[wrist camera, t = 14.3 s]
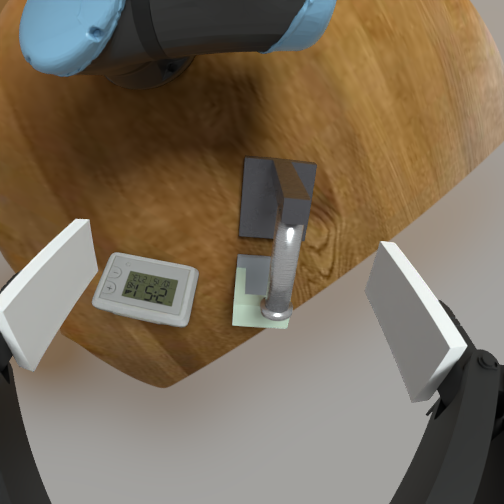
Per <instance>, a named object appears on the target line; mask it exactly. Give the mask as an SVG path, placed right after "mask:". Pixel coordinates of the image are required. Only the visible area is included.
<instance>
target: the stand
mask: <svg viewBox="0 0 504 504" xmlns="http://www.w3.org/2000/svg"><path fill="white" fill-rule="evenodd" d="M316 168H317V165H316V163H314V162H306V161H297V160H288V159H279V158H268V157H257V156H245V165H244V177H243V190H242V203H241V216H240V230H239V236H246V237H259V238H272V239H273V246H272V254H271V261H270V269H269V276H268V284H267V291H266V297H265V298H263V299H262V300H261V303H260V313H261V314H262V315H263V316H264V317H265V318H267V319H269V320H272V321H284V320H287V319H288V318H289V317H290V316H291V315H292V310H293V304H292V303H291V301H290V298H291V293H292V288H293V283H294V278H295V272H296V267H297V261H298V256H299V250H300V245H301V241H304V240H305V235H306V229H307V224H308V219H309V213H310V207H311V201H312V193H313V187H314V181H315V174H316Z"/></svg>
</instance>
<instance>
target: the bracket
mask: <svg viewBox="0 0 504 504" xmlns="http://www.w3.org/2000/svg"><path fill="white" fill-rule="evenodd" d="M245 281H246V268H239V267H237V270H236V282H235V294H234V306H233V323H232V325H234V326H248V327H265V328H285V329H287V327H288V322H289V318H288V319H287V320H284V321H272V320H269V319H267V318H265V317H264V316H263V315H262V314H261V313H260V303H261V300H262V299H263V298H265V297H266V295H251V294H245Z"/></svg>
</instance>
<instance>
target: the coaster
mask: <svg viewBox="0 0 504 504" xmlns="http://www.w3.org/2000/svg"><path fill="white" fill-rule="evenodd" d="M270 261H271V257H270V256H257V255H243V254H238V259H237V267H239V268H246V281H245V294H251V295H266V291H267V284H268V276H269V269H270Z"/></svg>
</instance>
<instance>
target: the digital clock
mask: <svg viewBox="0 0 504 504" xmlns="http://www.w3.org/2000/svg"><path fill="white" fill-rule="evenodd" d="M198 275H199V272H198V270H197V269H195V268H193V267H190V266H186V265H181V264H176V263H170V262H165V261H160V260H155V259H150V258H144V257H139V256H134V255H129V254H124V253H118V252H116V253H113V254H112V255H111V256H110V258H109V260H108V262H107V265H106V267H105V269H104V272H103V274H102V276H101V279H100V281H99V284H98V286H97V289H96V291H95V294H94V297H93V300H92V304H93V306H94V307H96V308H97V309H100V310H104V311H108V312H112V313H114V314H117V315H121V316H125V317H129V318H134V319H138V320H142V321H147V322H152V323H156V324H165V325H170V326H175V327H185V326H187V324H188V322H189V318H190V313H191V308H192V304H193V299H194V294H195V289H196V285H197V280H198Z"/></svg>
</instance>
